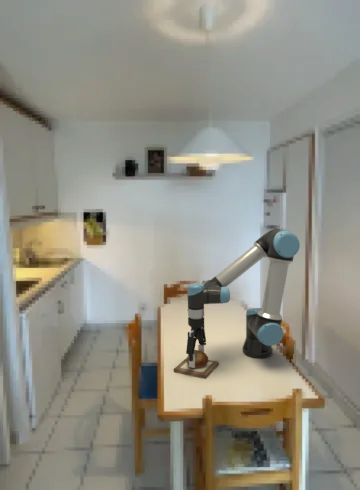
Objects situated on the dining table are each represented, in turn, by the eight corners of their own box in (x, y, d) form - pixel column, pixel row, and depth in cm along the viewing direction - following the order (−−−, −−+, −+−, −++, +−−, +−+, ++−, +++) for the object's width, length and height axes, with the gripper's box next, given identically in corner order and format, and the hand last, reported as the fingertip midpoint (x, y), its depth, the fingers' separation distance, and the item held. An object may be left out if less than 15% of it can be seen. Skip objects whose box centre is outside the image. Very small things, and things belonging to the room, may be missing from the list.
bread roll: (189, 366, 182) (182, 352, 181) (208, 356, 183) (201, 342, 181) (191, 375, 173) (184, 360, 171) (211, 365, 173) (204, 350, 172)
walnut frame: (218, 364, 181) (218, 361, 181) (205, 378, 167) (205, 375, 167) (188, 358, 188) (188, 355, 188) (173, 372, 174) (173, 368, 174)
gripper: (198, 309, 186) (199, 352, 189) (177, 323, 166) (178, 370, 169) (212, 311, 183) (213, 354, 185) (193, 325, 163) (193, 374, 165)
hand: (196, 362), depth 177 cm, fingers closed on bread roll, 10 cm apart
